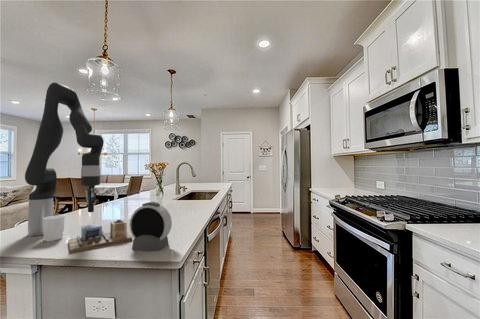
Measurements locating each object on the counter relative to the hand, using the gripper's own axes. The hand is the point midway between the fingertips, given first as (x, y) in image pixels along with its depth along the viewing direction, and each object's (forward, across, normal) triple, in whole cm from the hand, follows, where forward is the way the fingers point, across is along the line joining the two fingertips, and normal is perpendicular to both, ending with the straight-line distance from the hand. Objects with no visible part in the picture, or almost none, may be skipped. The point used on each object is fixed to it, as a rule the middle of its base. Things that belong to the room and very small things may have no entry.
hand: (90, 211), depth 105 cm
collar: (+10, -11, -9) cm, 18 cm away
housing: (+10, -7, 0) cm, 12 cm away
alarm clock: (+12, -31, -17) cm, 38 cm away
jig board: (+12, -11, -2) cm, 16 cm away
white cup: (+12, +8, +13) cm, 20 cm away
